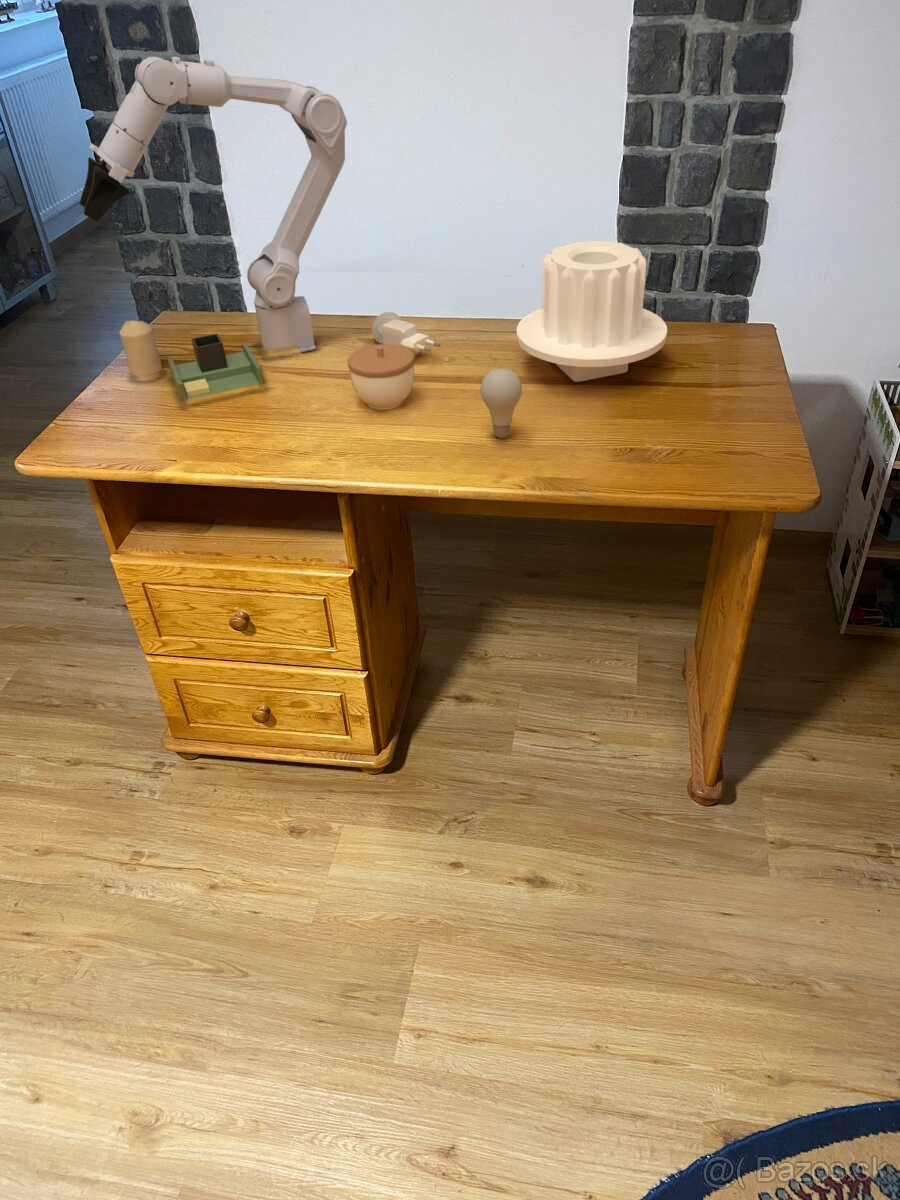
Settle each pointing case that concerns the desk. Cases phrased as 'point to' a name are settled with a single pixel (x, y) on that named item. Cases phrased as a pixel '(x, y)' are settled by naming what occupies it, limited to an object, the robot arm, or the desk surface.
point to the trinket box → (382, 375)
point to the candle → (140, 348)
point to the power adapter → (406, 336)
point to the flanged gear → (592, 311)
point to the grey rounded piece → (379, 323)
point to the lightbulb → (501, 398)
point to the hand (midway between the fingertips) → (87, 212)
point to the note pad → (196, 387)
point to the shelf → (220, 374)
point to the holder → (209, 352)
